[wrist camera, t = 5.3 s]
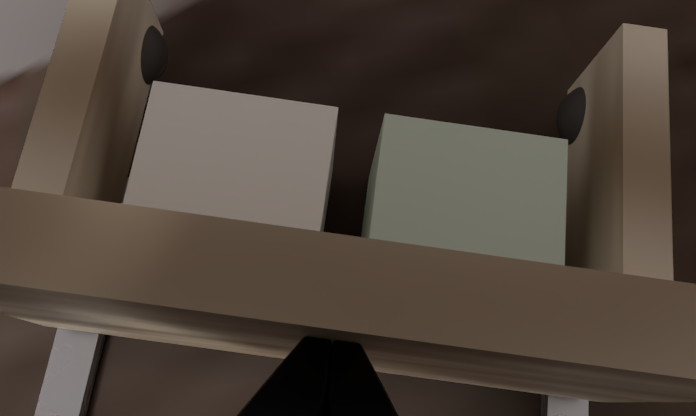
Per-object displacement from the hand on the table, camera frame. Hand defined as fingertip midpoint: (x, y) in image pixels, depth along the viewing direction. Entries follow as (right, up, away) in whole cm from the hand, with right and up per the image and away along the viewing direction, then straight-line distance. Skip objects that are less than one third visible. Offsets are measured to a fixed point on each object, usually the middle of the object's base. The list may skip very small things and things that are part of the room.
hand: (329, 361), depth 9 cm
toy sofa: (0, +2, +8) cm, 8 cm away
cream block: (-2, +2, +8) cm, 8 cm away
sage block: (+3, +1, +8) cm, 8 cm away
